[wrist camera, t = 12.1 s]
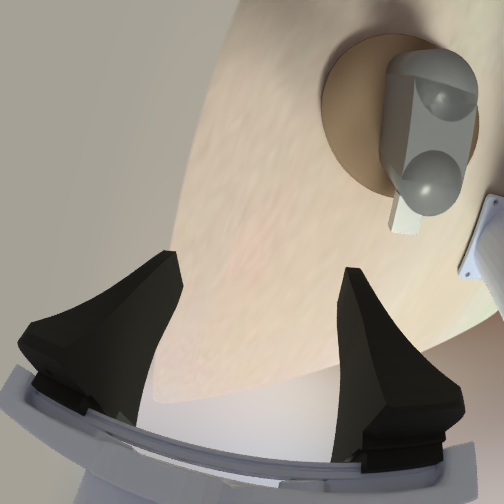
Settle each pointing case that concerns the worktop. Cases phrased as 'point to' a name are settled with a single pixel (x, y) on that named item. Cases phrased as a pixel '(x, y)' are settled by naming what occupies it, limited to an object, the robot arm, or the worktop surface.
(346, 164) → the walnut coaster
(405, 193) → the grey connector plug
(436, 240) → the worktop surface
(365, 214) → the worktop surface
